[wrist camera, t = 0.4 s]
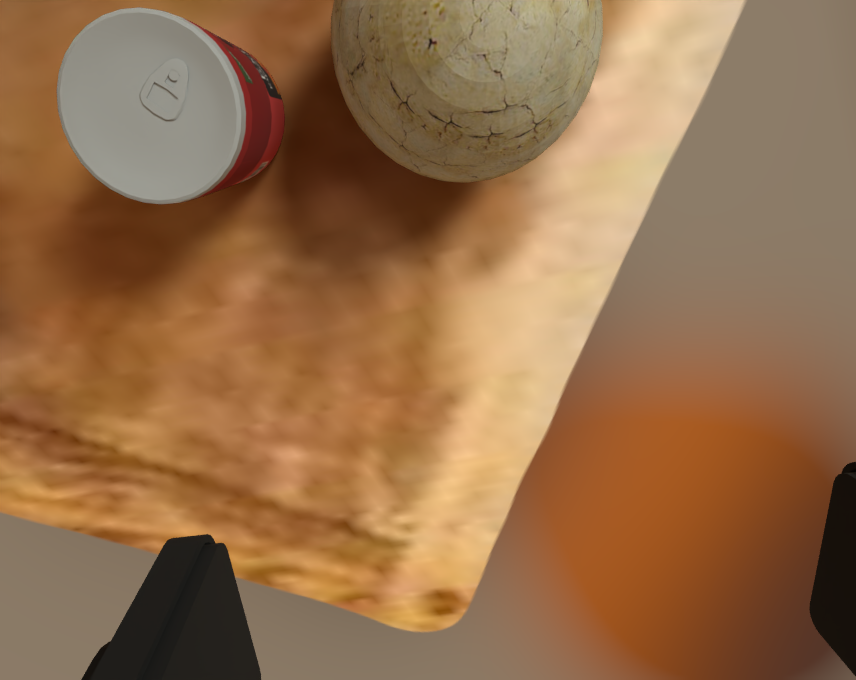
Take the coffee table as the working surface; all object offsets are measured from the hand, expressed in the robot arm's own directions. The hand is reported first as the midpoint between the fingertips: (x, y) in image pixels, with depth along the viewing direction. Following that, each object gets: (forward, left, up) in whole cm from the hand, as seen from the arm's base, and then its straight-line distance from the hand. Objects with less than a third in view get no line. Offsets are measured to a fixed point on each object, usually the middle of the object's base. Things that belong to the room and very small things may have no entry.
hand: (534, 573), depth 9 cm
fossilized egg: (-10, +2, -31) cm, 32 cm away
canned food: (-8, -12, -31) cm, 34 cm away
